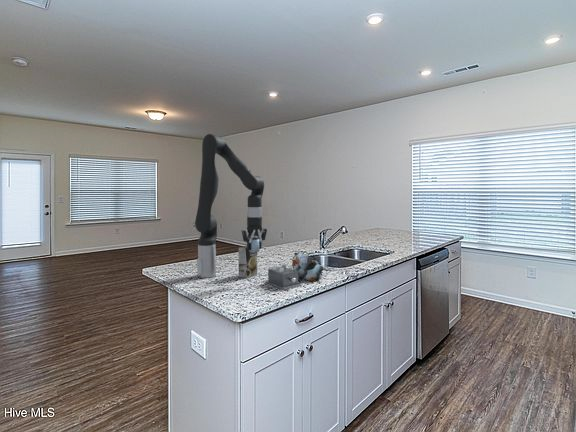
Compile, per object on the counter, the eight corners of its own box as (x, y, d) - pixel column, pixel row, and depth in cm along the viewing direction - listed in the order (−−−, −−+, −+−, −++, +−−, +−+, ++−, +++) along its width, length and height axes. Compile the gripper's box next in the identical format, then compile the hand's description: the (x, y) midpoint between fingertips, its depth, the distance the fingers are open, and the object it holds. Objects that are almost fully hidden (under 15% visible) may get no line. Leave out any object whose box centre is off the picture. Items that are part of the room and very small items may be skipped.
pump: (252, 252, 161) (252, 238, 160) (247, 250, 165) (247, 237, 164) (261, 251, 164) (261, 237, 163) (256, 249, 168) (256, 236, 167)
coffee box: (247, 278, 172) (247, 248, 170) (238, 276, 175) (237, 247, 174) (258, 274, 179) (257, 245, 178) (248, 272, 183) (248, 244, 181)
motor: (285, 290, 151) (285, 271, 150) (265, 282, 164) (265, 264, 163) (303, 286, 157) (303, 268, 156) (283, 278, 171) (283, 261, 170)
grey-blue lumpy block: (319, 283, 163) (305, 257, 160) (297, 289, 169) (283, 265, 166) (326, 266, 177) (313, 242, 175) (306, 273, 183) (293, 250, 181)
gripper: (245, 217, 155) (245, 252, 157) (270, 216, 164) (270, 249, 166) (238, 216, 161) (238, 249, 163) (262, 214, 170) (262, 246, 172)
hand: (254, 249), depth 164 cm, fingers closed on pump, 5 cm apart
